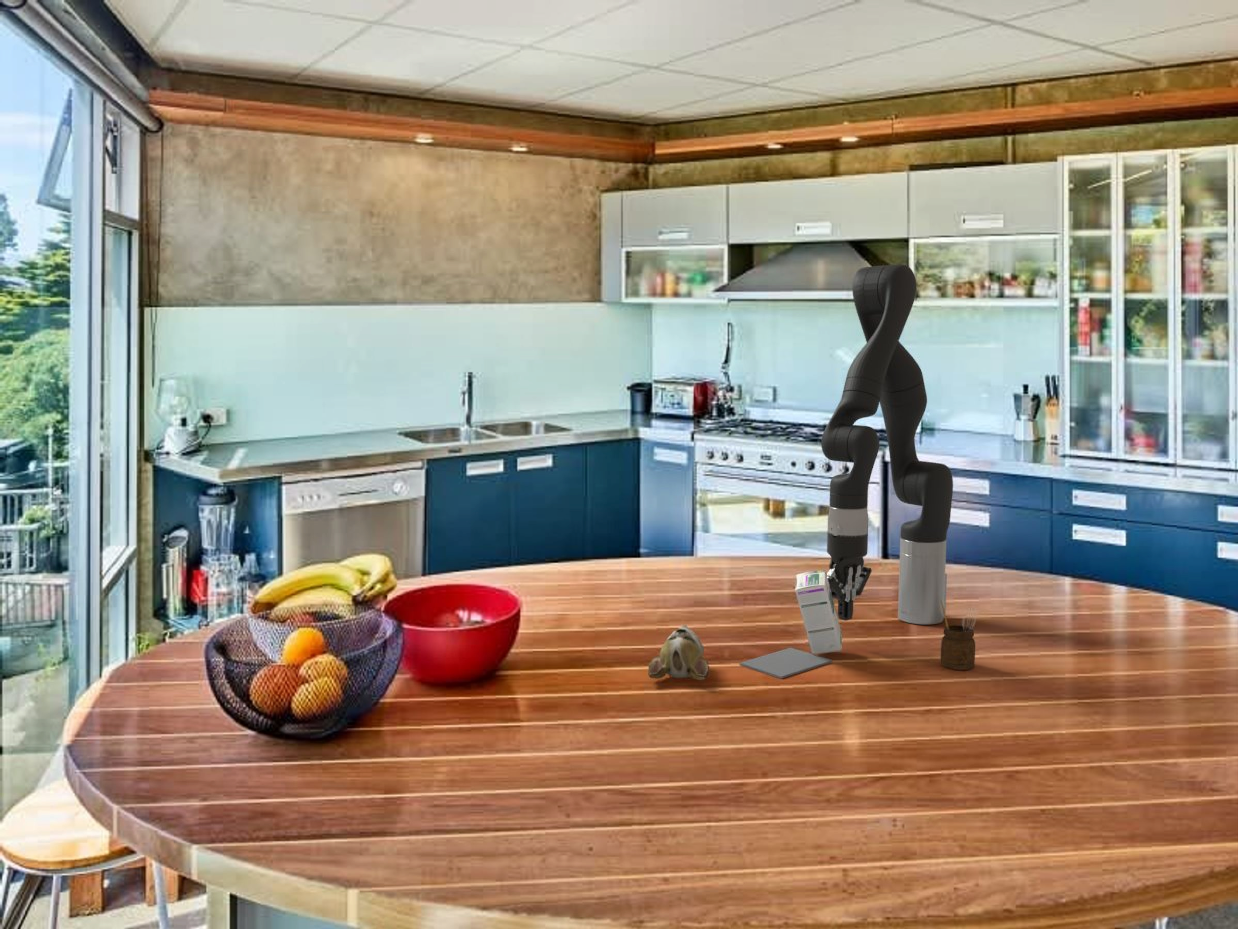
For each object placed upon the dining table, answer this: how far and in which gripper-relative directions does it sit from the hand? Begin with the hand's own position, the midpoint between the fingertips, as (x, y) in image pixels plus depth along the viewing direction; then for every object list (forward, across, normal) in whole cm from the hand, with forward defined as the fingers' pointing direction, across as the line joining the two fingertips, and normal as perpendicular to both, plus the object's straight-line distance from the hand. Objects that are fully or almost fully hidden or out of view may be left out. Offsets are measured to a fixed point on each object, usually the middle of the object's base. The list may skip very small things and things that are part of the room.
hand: (845, 619), depth 205 cm
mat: (+6, +16, -1) cm, 17 cm away
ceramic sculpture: (+6, +34, -9) cm, 36 cm away
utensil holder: (+6, -7, +20) cm, 22 cm away
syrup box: (+4, +5, 0) cm, 7 cm away
